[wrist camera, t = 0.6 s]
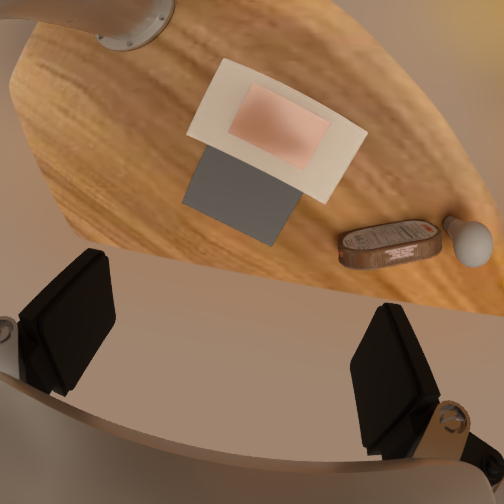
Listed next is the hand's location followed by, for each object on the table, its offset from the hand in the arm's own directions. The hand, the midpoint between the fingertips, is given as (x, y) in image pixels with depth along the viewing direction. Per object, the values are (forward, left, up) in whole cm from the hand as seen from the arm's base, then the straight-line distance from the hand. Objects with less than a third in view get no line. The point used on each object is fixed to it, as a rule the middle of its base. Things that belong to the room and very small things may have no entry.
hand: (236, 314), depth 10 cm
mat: (-1, -6, -31) cm, 31 cm away
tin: (+19, -1, -31) cm, 36 cm away
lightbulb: (+28, +6, -31) cm, 42 cm away
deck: (-1, +4, -31) cm, 31 cm away
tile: (-1, +5, -26) cm, 26 cm away
